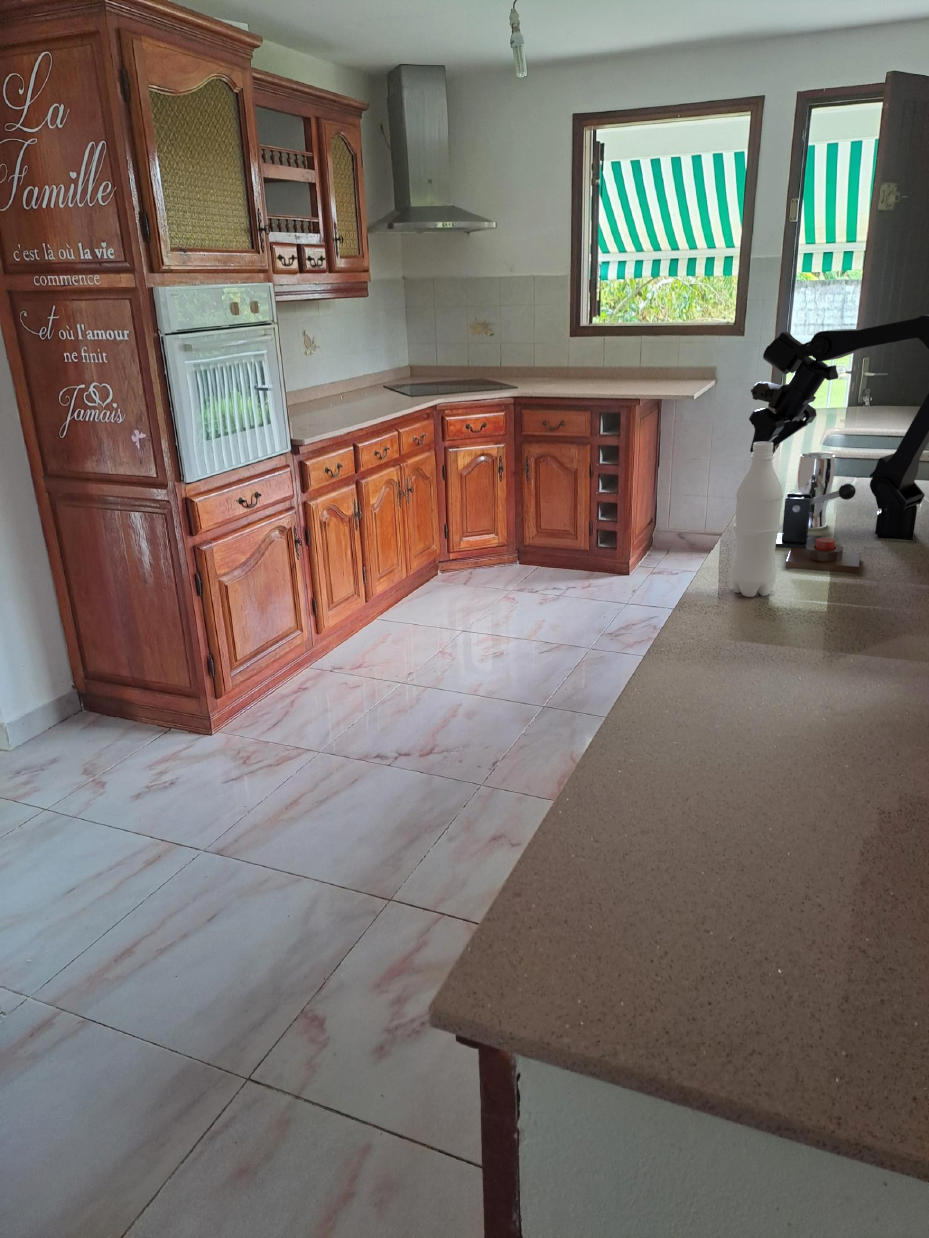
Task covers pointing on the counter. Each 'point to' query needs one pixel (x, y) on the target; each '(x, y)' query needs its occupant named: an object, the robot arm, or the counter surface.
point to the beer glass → (816, 483)
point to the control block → (823, 559)
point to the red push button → (825, 544)
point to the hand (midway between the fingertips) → (762, 448)
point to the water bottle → (757, 525)
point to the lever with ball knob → (836, 494)
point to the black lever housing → (796, 523)
